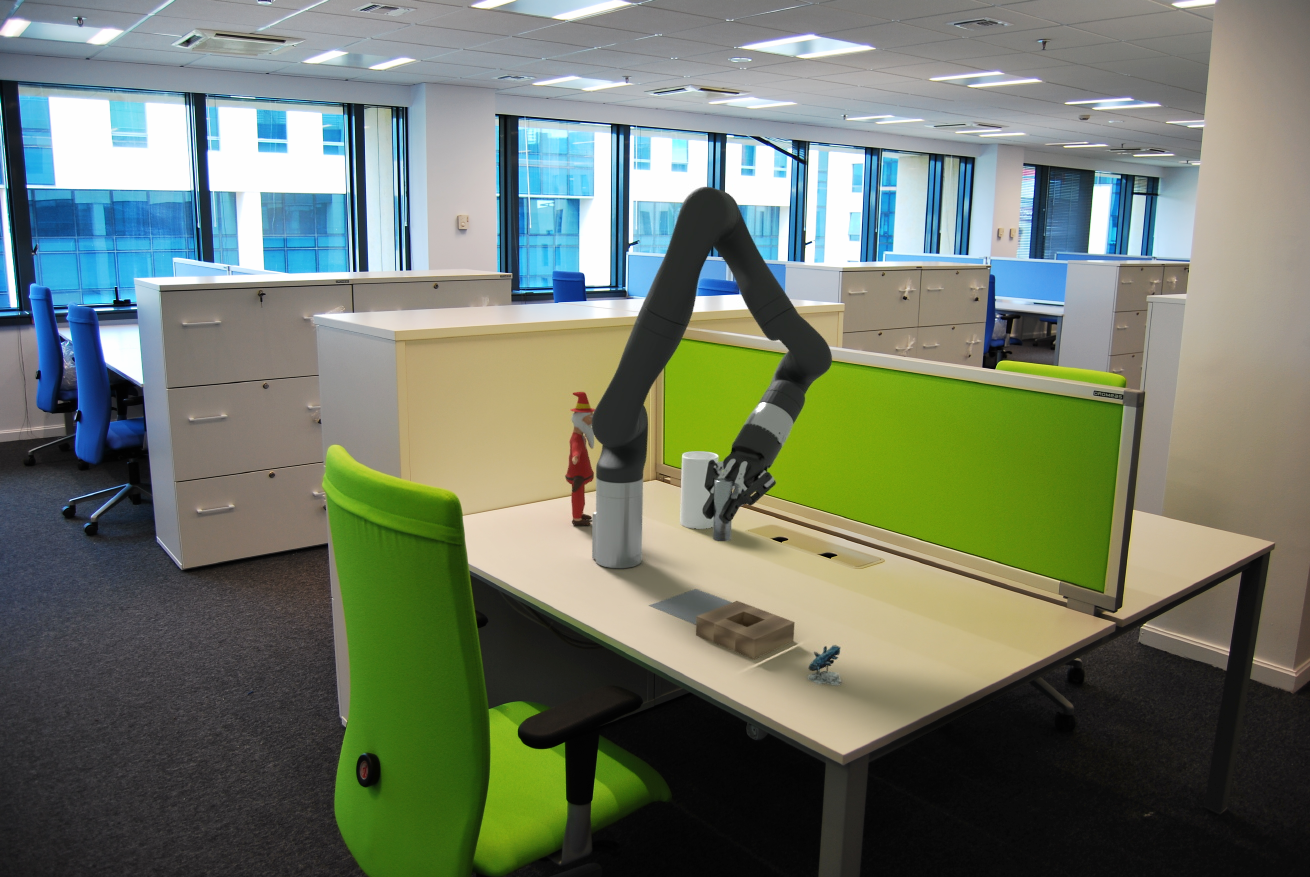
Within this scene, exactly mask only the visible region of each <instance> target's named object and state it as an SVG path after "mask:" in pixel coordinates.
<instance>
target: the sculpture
mask: <svg viewBox="0 0 1310 877" xmlns="http://www.w3.org/2000/svg"><path fill="white" fill-rule="evenodd" d="M822 650H823V651H822V652H821V653H819V652H818V651H814V652H813V655H814V656H815V657H814V659H813V660H812V661H811V663H810V664H809V666H808V669H809V671H811V673H810V674H809V675H807V680H808V681H812V682H813V683H815V684H817V685H823V684H829V685H831V686H841V684H842V678H840V674H839V673H838V672H836V671H829V667H831V666H832V665H833V664H834V662H835V660H838V659H839V657H838V656H839V655H840V654H841V647H840V646H838V645H837V644H833V645H832V646H831V647H830V648H828V647H827V645H825V646H824V647H823V649H822ZM822 669H826V670H822ZM820 670H822V671H820ZM815 671H816V672H815Z"/></svg>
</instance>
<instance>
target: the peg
mask: <svg viewBox="0 0 1310 877" xmlns="http://www.w3.org/2000/svg"><path fill="white" fill-rule="evenodd" d="M732 485H733V480H731V479H727V478H718V479H715V480H714V516H713V527H712V528H713V529H712V539H713V540H714V541H716V542H729V541H732V520H733V519H732V520H731V521H729V523H728V524H725V523H723V522H722V521H721V520H720V519H719V514H720V513H721V511H722V509H723V508H724V506H725V504H726V502H727V501H728V499H732V497H731V495H732V493H733V490H732Z"/></svg>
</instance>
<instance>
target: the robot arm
mask: <svg viewBox="0 0 1310 877" xmlns="http://www.w3.org/2000/svg"><path fill="white" fill-rule="evenodd" d="M713 248H714V249H715V250H716V252H717V253H719V255H720V256H721V258H722V259H723V260H724V262H725V264H726V265H727V267H728V268H729V270H730V272H731V273H732V276H733V278H734V280H735V282H736V284H737V285H736V286H737V287H738V291H739V293H740V294H741V298H742V299H743V301H744V304H745V305H746V307H747V309H748V311H749V312H750V314H751V316H752V317H753V319H754V320H755V322H756V323H757V325H758V327H759V328H760V329H761V331H762V333H763V335H765V337H766V338H767V340H769V341H772V342H777V341H780V342H781V343H782V345H784V347H786V348H787V350H788V351H787V352H786V353H785V354H784V356H782V359H780V361H779V363H778V365H777V367H776V368H775V372H774V374H773V377H772V378H771V381H770V384H769V386H768V387H767V389H766V390H765V392H764V393H763V395H762V396H761V398H760V400H759V402H758V403H757V405H756V406H755V408H754V409H753V410H752V412H751V413H750V414H749V416H748V417H747V419H746V420H745V423H744V424H743V425H742V427H741V429H740V430H739V432H738V434H737V435H736V438H735V439H734V441H733V442H732V444H731V450H730V453H729V454H728V455H727V456H725V458H724V459H723V461H718V462H717V463H716V462H715V461H714V460H710V461H709V463H708V468H707V474H706V480H705V485H704V487H705V488H706V490H707V491H708V492H709V493H710V496H709V498H708V500H707V501H706V503H705V505H704V506H703V509H702V510H703V515H704V516H705V517H706V518H707V519H712V517H713V516H714V480H715V479H718V478H727V479H731V480H733V485H732V495H731V497H732V499H728V501H727V502H726V504H725V506H724V508H723V509H722V511H721V513H720V514H719V519H720V520H721V521H722V522H723V523H725V524H728V523H729V521H731V520H733V519H734V518H735V516H736V514H737V512H738V510H740V507H743V506H745V505H748V506H750V507H751V506H753V505H754V504H755V503H757V501H759V500H760V499H761V498H763V496H764V495H766V493H768V492H769V491H770V490H771V489H772V488H773V487H774V486H776V484H777V481H776V479H775V478H774V476H773V475H772V474H771V473H770V472H769V471H768V469H770V468H771V467H772V465H773V464H774V462H775V460H776V459H777V457H778V455H779V453H780V452H781V450H782V448H783V446H784V445H785V443H786V441H787V439H788V438H789V436H790V433H791V431H792V428H793V426H794V424H795V422H796V420H797V418H798V417H799V415H800V414H801V412H802V410H803V408H804V406H805V403H806V396H805V395H806V394H807V392H808V391H809V388H810V387H811V385H813V383H814V382H815V381H816V380H818V379H819V378H820V377H822V376H823V375H824V374H826V373H828V371H829V370H830V368H831V366H832V363H833V355H832V354H833V353H832V351H831V348H830V346H829V343H828V342H827V341H826V339H825V338H824V337H823V335H821V334H820V333H819V331H818V330H817V329H815V327H813V326H812V325H811V324H810V323H809V322H808V321H807V320H805V318H804V317H803V316H801V315H800V314H799V312H798V310H797V309H796V307H795V306H794V304H793V303H792V300H790V298H789V296H788V295H787V294H786V292H785V290H784V288H783V287H782V286H781V284H780V282H779V281H778V280H777V278H776V277H775V275H774V274H773V272H772V271H771V269H770V267H769V266H768V265H767V264H768V263H766V261H765V260H764V258H763V256H762V254H761V253H760V251H759V249H758V247H757V245H756V243H755V242H754V239H753V238H752V236H751V234H750V231H749V228H748V227H747V223H746V221H745V220H744V217H743V214H742V212H741V210H740V207H739V205H738V203H737V201H736V200H735V199H734V197H733V196H732V195H730V194H729V193H728V192H725V191H723V190H720V189H718V188H715V187H710V186H702V187H698V188H696V189H695V190H692V191H691V192H690V193H689V194H688V195H687V196H686V198H685V199H684V200H683V201H682V204H681V206H680V209H679V212H678V215H677V219H676V221H675V226H674V228H673V232H672V234H671V238H670V241H669V244H668V247H667V250H666V252H665V255H664V257H663V259H662V262H661V264H660V265H659V268H658V270H657V272H656V274H655V277H654V279H653V281H652V284H651V286H650V288H649V290H648V292H647V294H646V296H645V299H644V301H643V302H642V305H641V308H640V310H639V312H638V315H637V316H636V319H635V321H634V324H633V326H632V330H631V332H630V335H629V336H628V339H627V340H626V341H627V342H626V344H625V347H624V349H623V352H622V354H621V358H620V360H619V362H618V367H617V368H616V370H615V373H614V375H613V377H612V379H611V380H610V382H609V384H608V386H607V388H606V390H605V391H604V393H603V395H602V397H601V398H600V400H599V401H598V404H597V405H596V407H595V408H594V409H595V411H594V412H593V416H592V426H591V427H592V430H593V433H594V438H595V439H596V440H597V441H598V443H599V444H601V445H602V446H601V452H600V456H599V458H598V459H597V463H596V466H595V467H596V468H595V478H596V479H595V481H596V482H595V485H596V486H595V511H594V512H593V513H592V525H591V526H592V533H591V534H592V535H591V536H592V538H591V539H592V541H591V543H592V546H591V547H592V548H591V550H592V551H591V558H592V559H594V560H595V563H596V564H597V565H599V566H602V567H605V568H609V569H627V568H628V569H629V568H633V567H635V566H638V565H640V564H641V563H642V555H643V554H642V553H643V552H642V550H643V549H642V548H643V509H644V508H643V506H644V505H643V504H644V503H643V502H644V501H643V498H644V469H645V464H646V461H647V454H648V440H649V439H648V436H649V418H648V417H649V416H648V413H647V412H648V411H647V409H646V407H645V402H646V401H647V400H646V399H647V397H648V395H649V393H650V390H651V388H652V386H654V383H655V382H656V380H657V378H658V377H659V376H660V374H661V373H662V372H663V370H664V369H665V368H666V366H667V364H669V361H670V360H671V359H672V357H673V356H674V354H675V352H676V351H677V349H678V347H679V346H680V344H681V341H682V339H683V337H684V334H685V333H686V331H687V328H688V326H689V324H690V322H691V318H692V317H693V316H692V315H693V312H694V307H695V305H696V304H695V303H696V299H697V298H696V297H697V291H698V285H699V280H700V276H701V273H702V270H703V267H704V265H705V263H706V261H707V259H708V257H709V256H710V255H709V254H710V253H711V251H712V249H713ZM731 522H732V521H731Z"/></svg>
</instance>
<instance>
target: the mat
mask: <svg viewBox="0 0 1310 877" xmlns="http://www.w3.org/2000/svg"><path fill="white" fill-rule="evenodd" d="M732 602H733V601H730V600H727V599H725V598H722V597H718V596H715V594H710V593H708V592H706V591H702V590H700V589H698V588H694V589H691V590H688V591H686V592H683V593H680V594H677V595H675V596H671V597H669V598H666V599H663V600H660V601H656V602H654V603H652V604H649V605H648V607H652V608H654V609H656V610H658V611H661V612H664V613H666V614H668V615H672V616H673V617H676V618H678V619H680V620H683V621H685V622H688V623H689V624H690V623H691V624H693V625H695V626H696V621H697V616H699V615H701V614H704V613H706V612H709V611H712V610H714V609H717V608H719V607H722V606H725V605H727V604H730V603H732Z"/></svg>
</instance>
